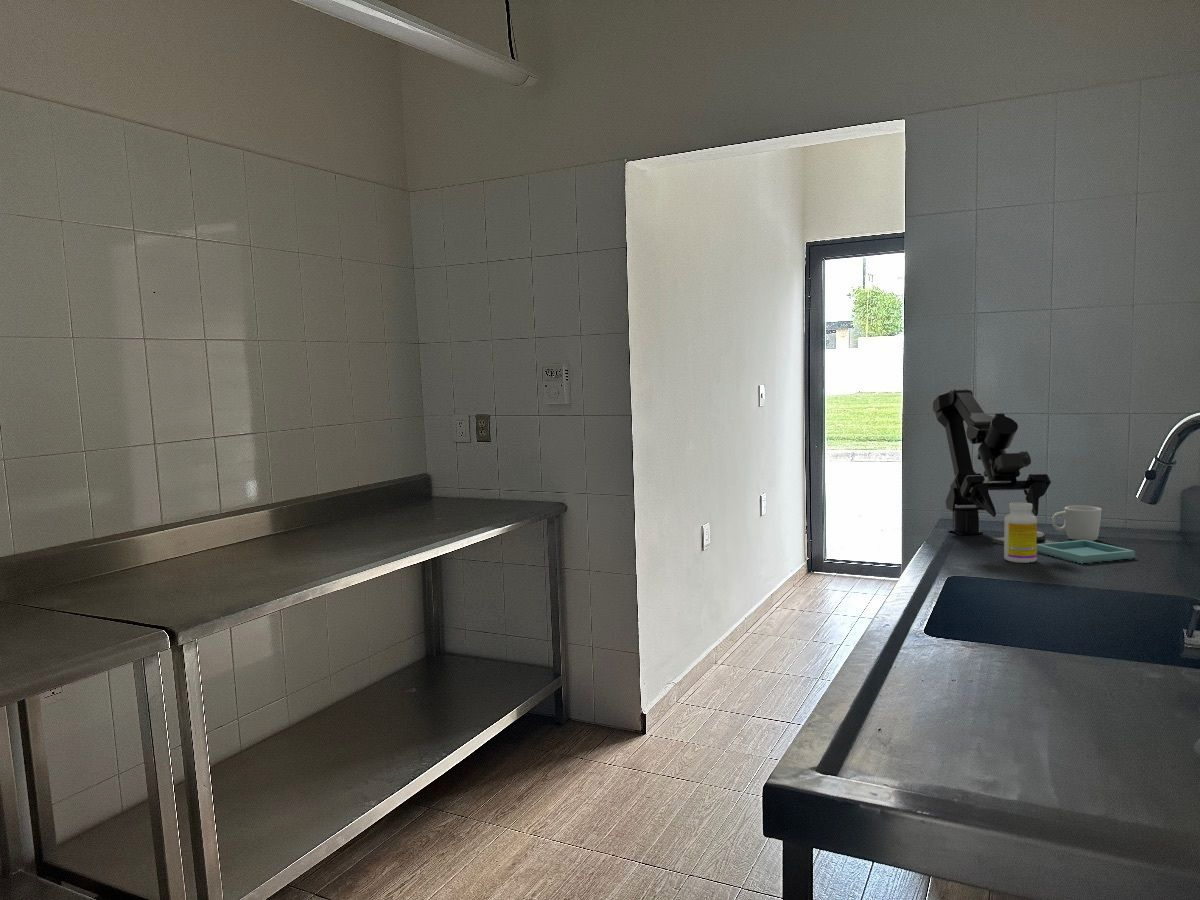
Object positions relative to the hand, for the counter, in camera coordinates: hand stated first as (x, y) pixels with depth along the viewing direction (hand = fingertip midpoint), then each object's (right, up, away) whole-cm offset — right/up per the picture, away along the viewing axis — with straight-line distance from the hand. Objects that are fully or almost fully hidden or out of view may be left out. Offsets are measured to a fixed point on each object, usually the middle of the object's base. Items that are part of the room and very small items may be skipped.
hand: (1015, 515), depth 192 cm
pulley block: (+10, -8, +14) cm, 19 cm away
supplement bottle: (0, -10, -2) cm, 10 cm away
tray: (+16, -9, +1) cm, 18 cm away
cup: (+24, -8, +18) cm, 31 cm away
